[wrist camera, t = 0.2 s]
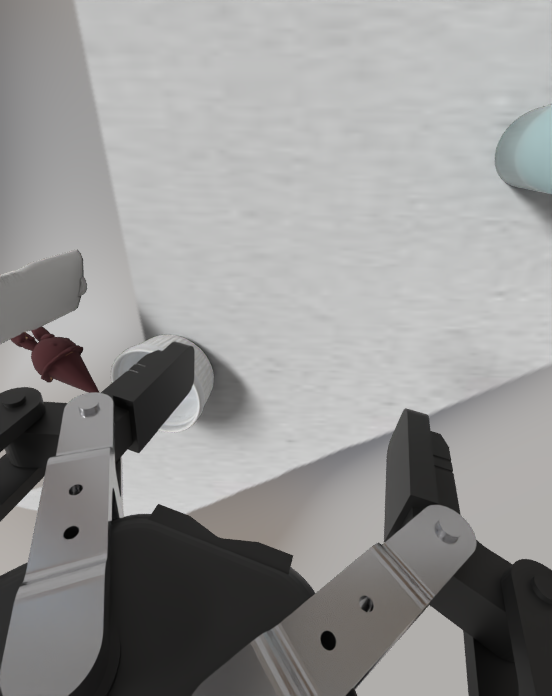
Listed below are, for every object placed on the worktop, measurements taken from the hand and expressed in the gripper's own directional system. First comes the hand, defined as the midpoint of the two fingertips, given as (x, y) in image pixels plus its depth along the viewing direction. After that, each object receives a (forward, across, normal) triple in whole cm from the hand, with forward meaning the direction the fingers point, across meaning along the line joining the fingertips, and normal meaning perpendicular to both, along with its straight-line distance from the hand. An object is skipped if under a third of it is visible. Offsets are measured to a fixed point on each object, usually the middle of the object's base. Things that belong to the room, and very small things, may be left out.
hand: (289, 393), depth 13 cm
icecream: (+27, +38, +26) cm, 54 cm away
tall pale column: (+27, +37, +14) cm, 48 cm away
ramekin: (+27, +20, +24) cm, 41 cm away
